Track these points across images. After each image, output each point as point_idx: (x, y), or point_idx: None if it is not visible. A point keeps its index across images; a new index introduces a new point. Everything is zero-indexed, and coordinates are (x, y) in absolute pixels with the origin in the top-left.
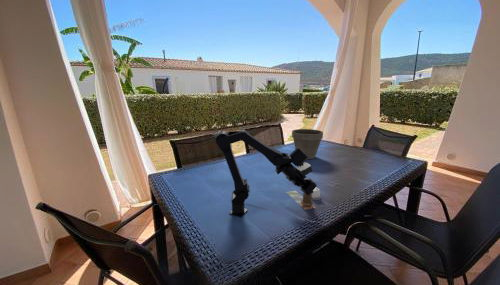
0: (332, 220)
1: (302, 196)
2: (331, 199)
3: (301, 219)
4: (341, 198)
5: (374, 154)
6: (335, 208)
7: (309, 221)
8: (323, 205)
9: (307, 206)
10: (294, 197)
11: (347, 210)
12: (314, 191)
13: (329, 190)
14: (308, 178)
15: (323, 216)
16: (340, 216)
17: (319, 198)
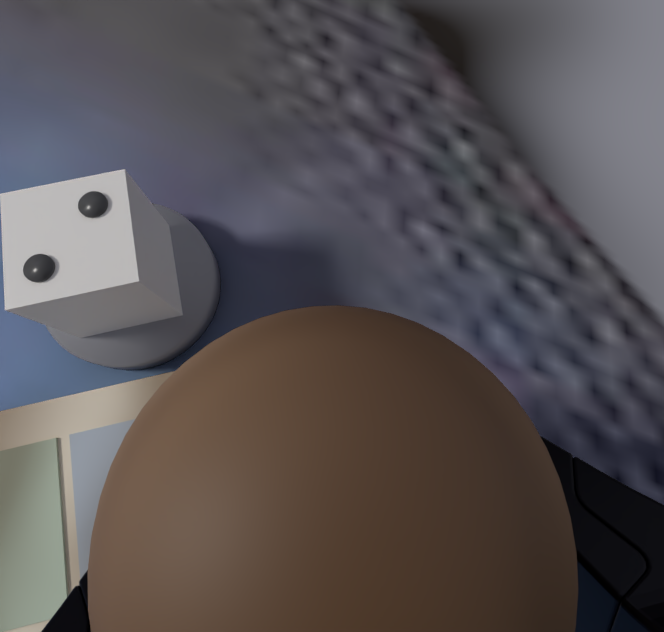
0: (610, 277)
1: (93, 432)
2: (214, 122)
3: None
4: (214, 29)
5: None
6: (393, 159)
7: None
8: (323, 249)
9: None
10: None
11: (435, 75)
12: (142, 266)
13: (22, 63)
14: (256, 565)
15: (540, 336)
16: (537, 176)
17: (204, 240)
